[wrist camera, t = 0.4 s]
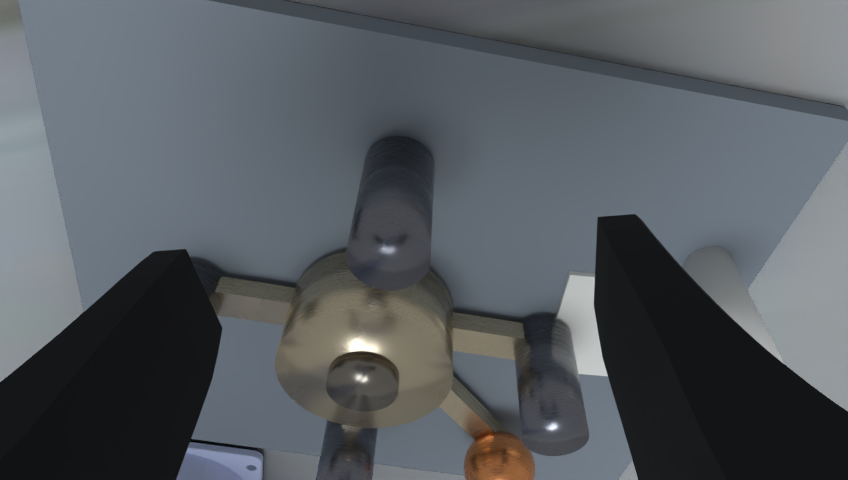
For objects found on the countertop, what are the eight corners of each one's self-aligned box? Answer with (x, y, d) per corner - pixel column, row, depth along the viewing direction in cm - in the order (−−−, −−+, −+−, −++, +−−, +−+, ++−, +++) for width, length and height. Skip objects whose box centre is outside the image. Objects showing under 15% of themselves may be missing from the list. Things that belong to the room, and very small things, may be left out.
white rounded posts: (657, 405, 28) (689, 518, 24) (520, 385, 27) (530, 497, 24) (757, 253, 23) (819, 367, 19) (589, 225, 22) (617, 336, 18)
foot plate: (604, 476, 33) (608, 494, 32) (117, 409, 31) (108, 427, 31) (844, 106, 20) (860, 123, 19) (29, -49, 18) (10, -37, 17)
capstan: (521, 456, 30) (529, 552, 27) (177, 409, 29) (140, 503, 26) (655, 180, 20) (694, 275, 17) (147, 91, 19) (81, 174, 16)
